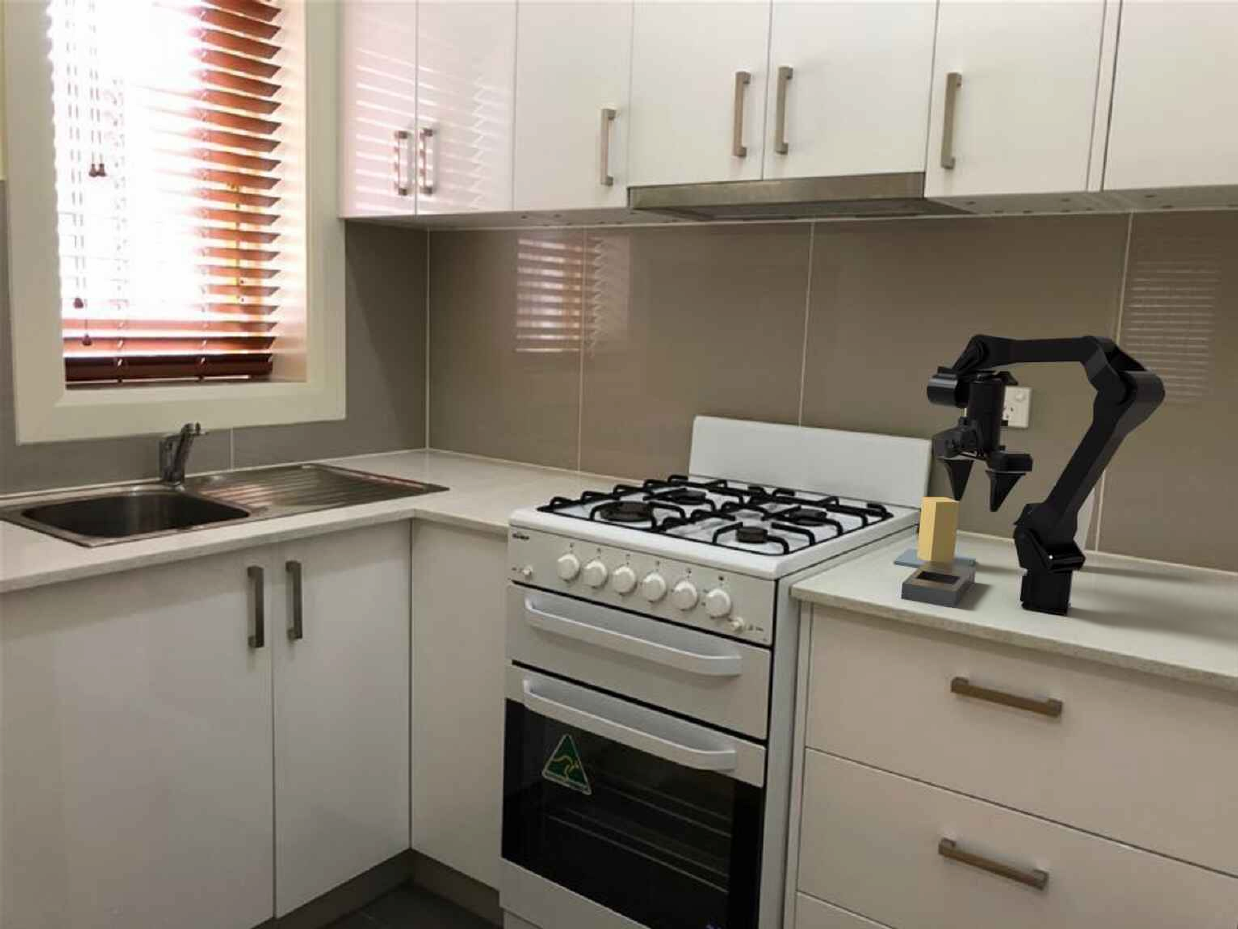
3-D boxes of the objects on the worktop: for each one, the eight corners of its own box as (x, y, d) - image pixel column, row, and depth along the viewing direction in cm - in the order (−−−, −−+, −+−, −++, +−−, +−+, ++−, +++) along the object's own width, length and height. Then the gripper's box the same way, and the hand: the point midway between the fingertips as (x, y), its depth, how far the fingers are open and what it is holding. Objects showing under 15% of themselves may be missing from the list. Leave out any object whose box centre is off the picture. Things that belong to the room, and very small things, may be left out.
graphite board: (974, 582, 166) (976, 567, 166) (954, 607, 150) (955, 591, 150) (925, 574, 170) (927, 560, 169) (901, 598, 154) (902, 582, 154)
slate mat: (975, 561, 181) (975, 558, 181) (963, 575, 171) (963, 571, 170) (908, 551, 187) (909, 548, 187) (893, 563, 176) (893, 560, 176)
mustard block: (953, 562, 177) (959, 502, 175) (930, 562, 176) (936, 502, 174) (939, 556, 181) (945, 497, 180) (916, 556, 180) (922, 497, 179)
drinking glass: (1043, 567, 179) (1052, 485, 177) (1046, 560, 185) (1055, 480, 182) (1084, 573, 176) (1094, 490, 173) (1086, 565, 182) (1096, 485, 179)
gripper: (908, 405, 167) (900, 496, 170) (980, 418, 150) (970, 519, 152) (964, 406, 171) (955, 495, 173) (1040, 419, 153) (1029, 517, 156)
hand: (975, 506), depth 164 cm, fingers open, 9 cm apart
